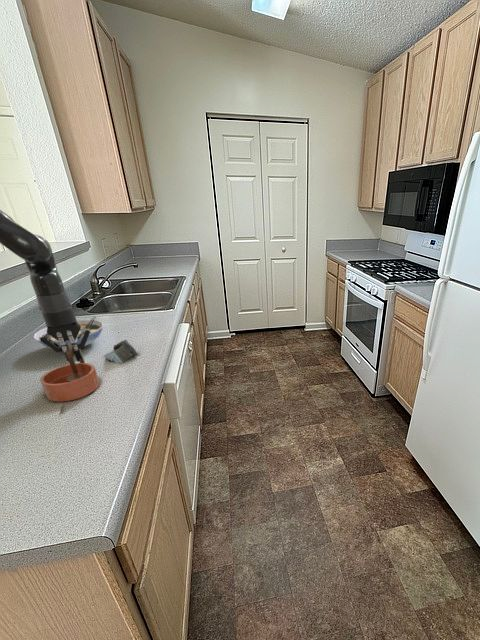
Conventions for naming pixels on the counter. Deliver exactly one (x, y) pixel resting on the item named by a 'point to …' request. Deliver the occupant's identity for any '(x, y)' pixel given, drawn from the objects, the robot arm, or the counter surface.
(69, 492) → the counter surface
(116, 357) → the grey angular wedge
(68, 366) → the bowl
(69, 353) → the brown bent ladle
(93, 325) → the ramen bowl
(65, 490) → the counter surface
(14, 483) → the counter surface
